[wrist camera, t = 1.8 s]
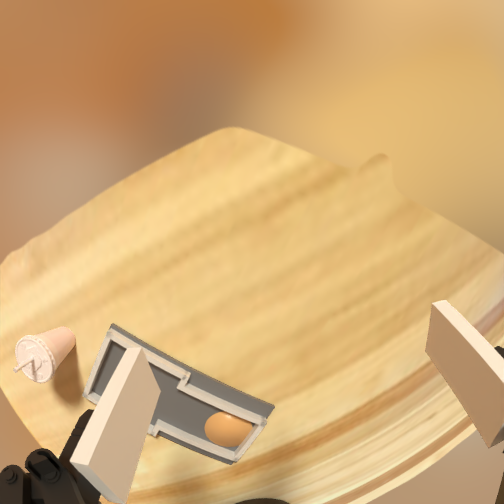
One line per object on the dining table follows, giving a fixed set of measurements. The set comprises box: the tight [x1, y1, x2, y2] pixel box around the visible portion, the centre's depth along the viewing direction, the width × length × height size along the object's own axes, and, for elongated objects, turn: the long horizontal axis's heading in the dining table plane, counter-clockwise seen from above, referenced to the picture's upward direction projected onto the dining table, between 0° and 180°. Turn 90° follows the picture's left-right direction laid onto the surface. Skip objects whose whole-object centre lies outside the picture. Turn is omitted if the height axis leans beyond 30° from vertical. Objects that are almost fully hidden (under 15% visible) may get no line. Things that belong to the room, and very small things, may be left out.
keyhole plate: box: [82, 323, 275, 465], centre depth 41 cm, size 14×26×2 cm, turn 61°
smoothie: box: [13, 326, 76, 383], centre depth 33 cm, size 6×6×14 cm
